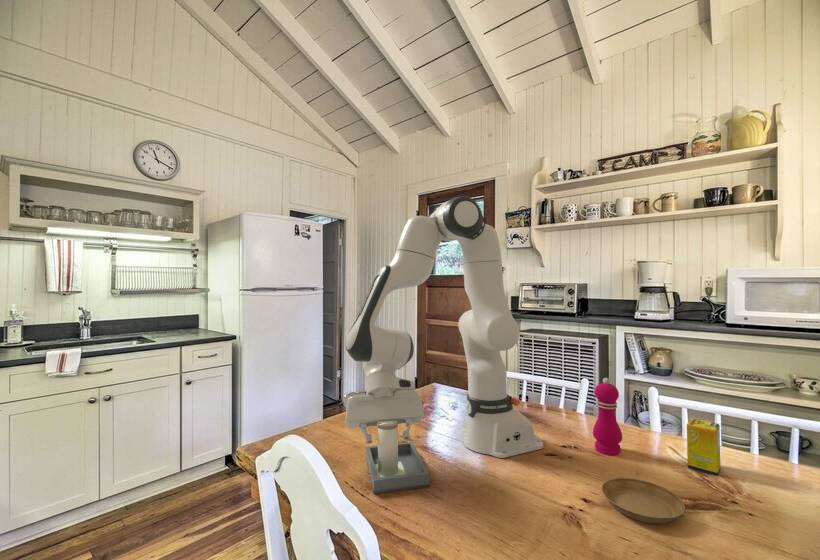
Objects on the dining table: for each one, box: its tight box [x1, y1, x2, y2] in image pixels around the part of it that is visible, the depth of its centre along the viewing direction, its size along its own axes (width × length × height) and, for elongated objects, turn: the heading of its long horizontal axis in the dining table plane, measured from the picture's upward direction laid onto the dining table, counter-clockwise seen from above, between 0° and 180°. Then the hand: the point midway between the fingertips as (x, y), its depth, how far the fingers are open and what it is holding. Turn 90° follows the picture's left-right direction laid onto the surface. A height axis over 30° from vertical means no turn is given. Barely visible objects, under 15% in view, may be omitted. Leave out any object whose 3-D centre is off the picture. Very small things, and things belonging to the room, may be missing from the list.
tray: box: [365, 441, 431, 495], centre depth 95 cm, size 13×18×3 cm
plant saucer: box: [600, 477, 686, 525], centre depth 78 cm, size 15×15×3 cm
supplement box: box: [686, 418, 722, 477], centre depth 94 cm, size 6×6×11 cm
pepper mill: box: [592, 377, 623, 456], centre depth 104 cm, size 7×7×20 cm
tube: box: [376, 419, 399, 476], centre depth 93 cm, size 5×5×12 cm
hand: (388, 440), depth 93 cm, fingers open, 8 cm apart
